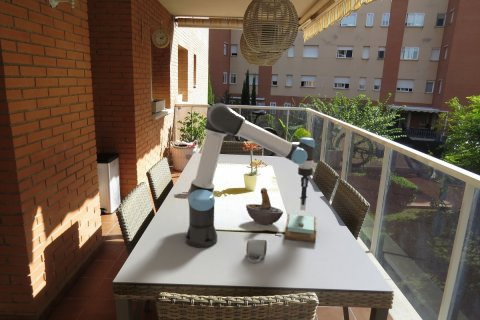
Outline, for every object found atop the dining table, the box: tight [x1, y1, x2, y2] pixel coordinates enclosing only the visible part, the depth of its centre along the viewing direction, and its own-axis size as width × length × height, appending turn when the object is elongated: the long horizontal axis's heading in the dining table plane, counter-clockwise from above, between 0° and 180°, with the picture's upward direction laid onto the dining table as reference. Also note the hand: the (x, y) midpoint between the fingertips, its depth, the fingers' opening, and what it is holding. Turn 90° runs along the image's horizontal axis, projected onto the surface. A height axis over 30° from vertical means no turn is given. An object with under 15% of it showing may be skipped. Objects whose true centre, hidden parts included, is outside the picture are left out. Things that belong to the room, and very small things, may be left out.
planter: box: [245, 187, 284, 225], centre depth 186 cm, size 15×17×20 cm
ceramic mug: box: [245, 238, 268, 264], centre depth 150 cm, size 11×8×8 cm
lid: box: [288, 214, 315, 234], centre depth 175 cm, size 17×12×3 cm
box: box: [284, 213, 317, 244], centre depth 176 cm, size 18×15×6 cm
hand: (302, 209), depth 186 cm, fingers closed
